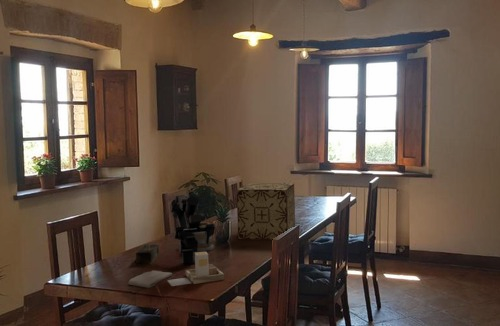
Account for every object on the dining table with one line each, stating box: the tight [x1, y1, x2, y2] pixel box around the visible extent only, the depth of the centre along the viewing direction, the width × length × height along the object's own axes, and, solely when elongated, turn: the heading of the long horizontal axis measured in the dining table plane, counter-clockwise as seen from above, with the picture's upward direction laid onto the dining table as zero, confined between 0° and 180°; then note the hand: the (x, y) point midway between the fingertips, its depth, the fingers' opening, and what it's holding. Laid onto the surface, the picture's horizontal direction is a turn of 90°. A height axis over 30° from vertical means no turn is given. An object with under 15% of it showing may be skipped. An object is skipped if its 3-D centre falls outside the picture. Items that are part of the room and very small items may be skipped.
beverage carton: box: [135, 243, 160, 265], centre depth 266 cm, size 8×19×7 cm, turn 178°
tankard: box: [194, 221, 215, 252], centre depth 289 cm, size 20×13×15 cm, turn 32°
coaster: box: [167, 277, 192, 287], centre depth 226 cm, size 9×9×1 cm
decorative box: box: [236, 182, 296, 241], centre depth 317 cm, size 30×30×30 cm
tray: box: [185, 268, 225, 285], centre depth 231 cm, size 14×14×3 cm
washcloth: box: [128, 269, 173, 289], centre depth 231 cm, size 12×18×3 cm, turn 153°
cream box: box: [194, 251, 210, 277], centre depth 227 cm, size 5×5×12 cm
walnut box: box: [209, 263, 218, 276], centre depth 235 cm, size 7×4×4 cm, turn 22°
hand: (198, 245), depth 234 cm, fingers open, 9 cm apart
